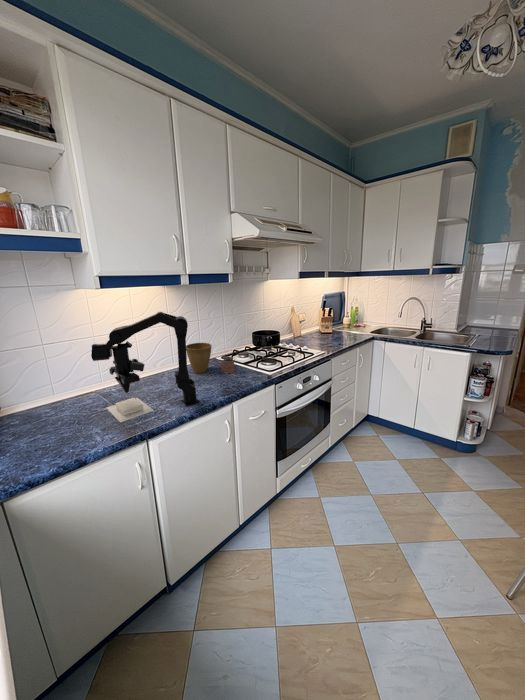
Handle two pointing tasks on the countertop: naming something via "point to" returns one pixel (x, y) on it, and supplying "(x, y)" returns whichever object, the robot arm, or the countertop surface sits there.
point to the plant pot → (199, 356)
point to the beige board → (121, 417)
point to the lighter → (227, 365)
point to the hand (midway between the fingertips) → (126, 392)
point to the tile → (129, 406)
